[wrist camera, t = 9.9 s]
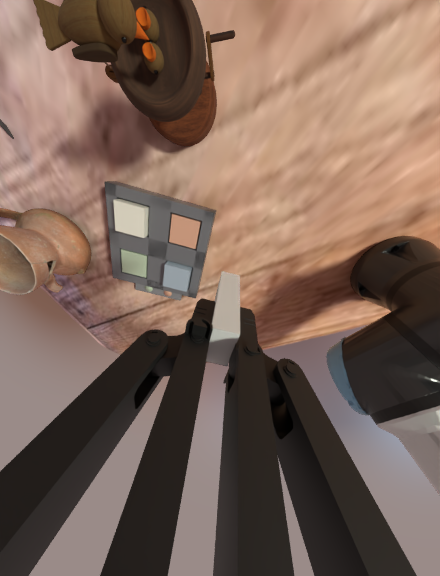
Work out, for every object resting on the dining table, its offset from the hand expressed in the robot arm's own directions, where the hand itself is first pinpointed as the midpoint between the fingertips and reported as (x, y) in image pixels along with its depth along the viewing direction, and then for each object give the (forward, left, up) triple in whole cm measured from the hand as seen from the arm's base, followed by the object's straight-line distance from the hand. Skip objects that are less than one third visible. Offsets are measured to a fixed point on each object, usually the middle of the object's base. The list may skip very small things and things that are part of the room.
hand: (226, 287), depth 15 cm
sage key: (+19, +13, -24) cm, 33 cm away
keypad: (+14, +8, -25) cm, 30 cm away
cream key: (+19, +3, -22) cm, 29 cm away
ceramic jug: (+37, +13, -25) cm, 47 cm away
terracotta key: (+9, +3, -24) cm, 26 cm away
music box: (+12, -16, -25) cm, 32 cm away
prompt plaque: (+14, +21, -25) cm, 35 cm away
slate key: (+9, +13, -22) cm, 27 cm away
